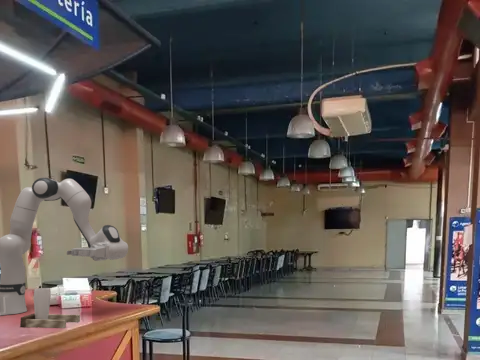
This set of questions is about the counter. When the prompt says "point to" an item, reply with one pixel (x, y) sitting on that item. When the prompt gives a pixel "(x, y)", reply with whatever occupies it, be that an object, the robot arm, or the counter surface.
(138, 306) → the counter surface
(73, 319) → the brown compartment tray
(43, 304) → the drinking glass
